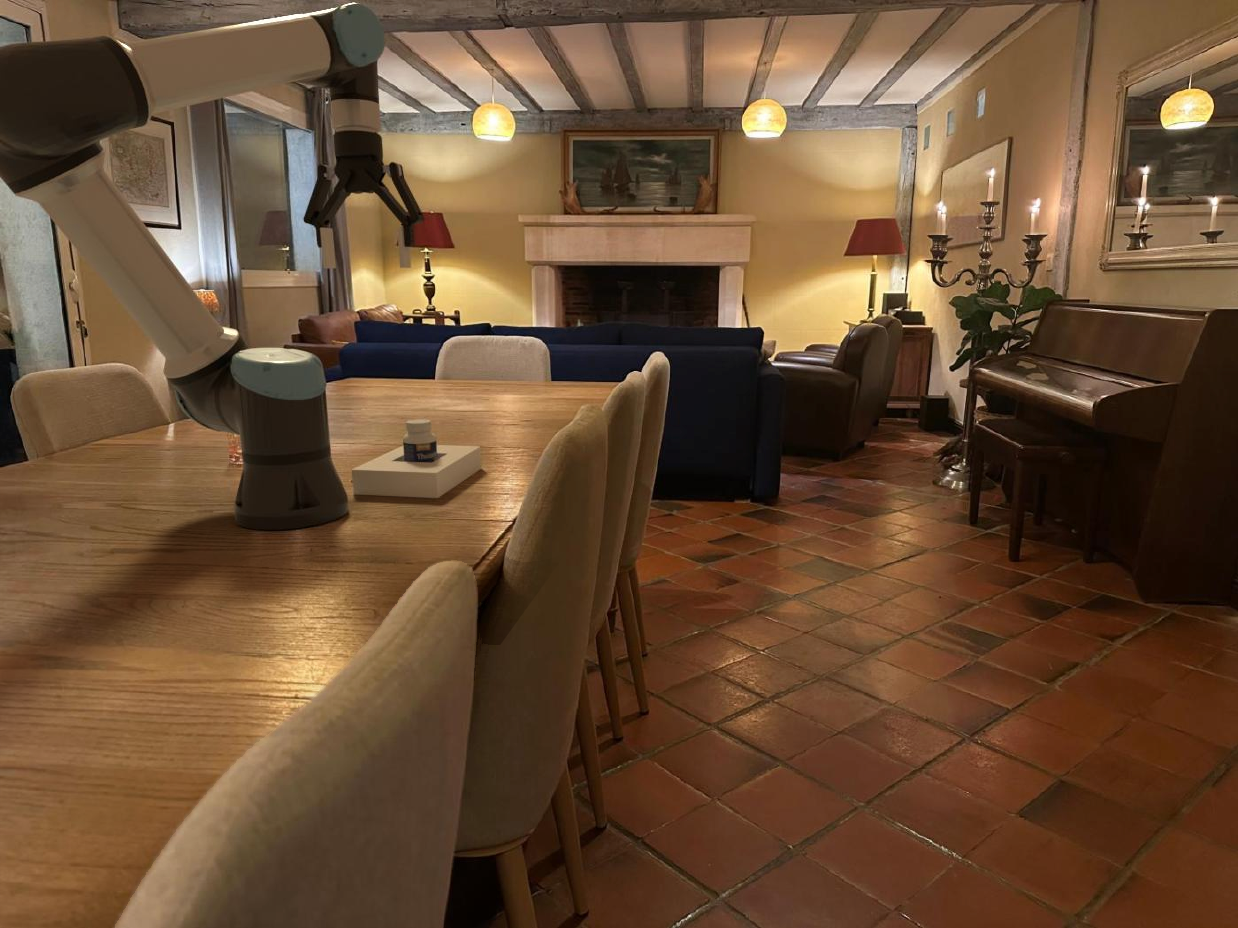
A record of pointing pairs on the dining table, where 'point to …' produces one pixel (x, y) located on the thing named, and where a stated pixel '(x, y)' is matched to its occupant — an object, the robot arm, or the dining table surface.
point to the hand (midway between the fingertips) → (367, 268)
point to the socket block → (416, 473)
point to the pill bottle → (419, 442)
